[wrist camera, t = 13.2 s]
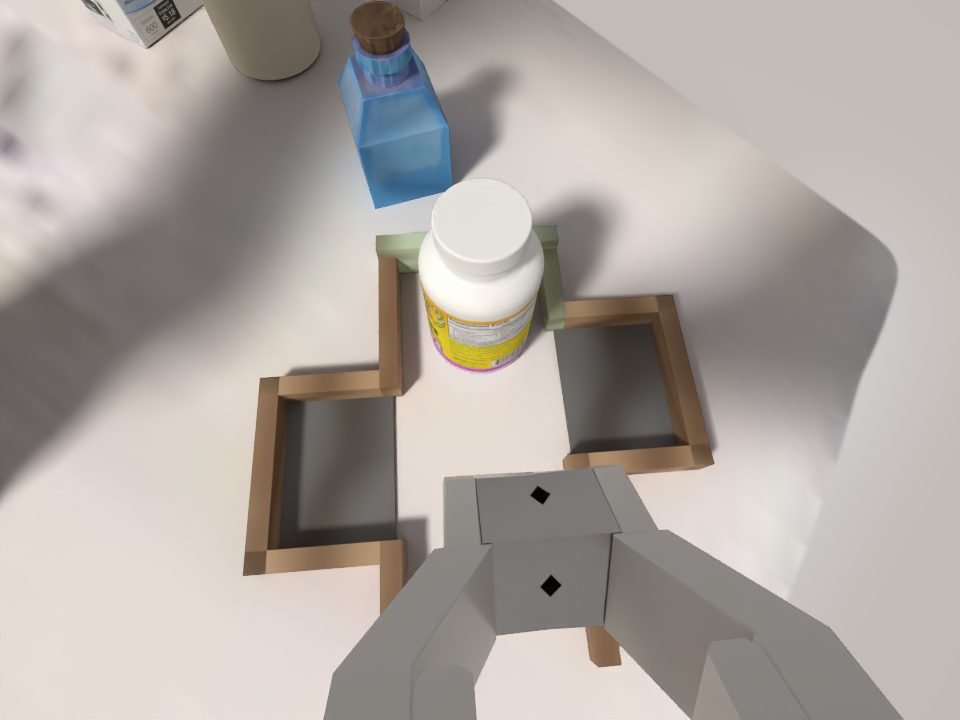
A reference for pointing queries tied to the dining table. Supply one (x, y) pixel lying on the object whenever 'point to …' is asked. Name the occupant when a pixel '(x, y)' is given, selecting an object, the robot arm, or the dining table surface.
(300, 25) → the travel mug
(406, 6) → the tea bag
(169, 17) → the light bulb box
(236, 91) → the dining table surface
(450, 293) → the supplement bottle
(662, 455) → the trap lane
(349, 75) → the perfume bottle
